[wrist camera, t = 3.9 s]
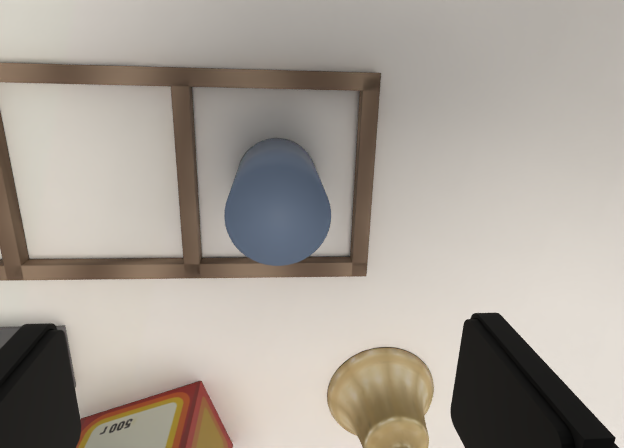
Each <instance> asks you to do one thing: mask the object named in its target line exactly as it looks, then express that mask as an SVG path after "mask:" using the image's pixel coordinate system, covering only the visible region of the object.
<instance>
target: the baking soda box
mask: <svg viewBox="0 0 624 448" xmlns="http://www.w3.org/2000/svg"><path fill="white" fill-rule="evenodd" d="M80 421H81V435H80V439H79V442H78V444H77V446H76V448H233V444H232V442H231V440H230V438H229V436H228V434H227V432H226V430H225V428H224V426H223V424H222V422H221V420H220V418H219V416H218V414H217V412H216V410H215V408H214V406H213V404H212V402H211V399H210V397H209V395H208V393H207V391H206V389H205V387H204V385H203V383H202V381H199V382H195V383H192V384H189V385H186V386H183V387H180V388H176V389H173V390H170V391H167V392H164V393H161V394H158V395H154V396H151V397H148V398H145V399H142V400H139V401H135V402H132V403H129V404H126V405H123V406H120V407H116V408H113V409H110V410H107V411H104V412H101V413H98V414H94V415H91V416H88V417H85V418H82V419H81V420H80Z"/></svg>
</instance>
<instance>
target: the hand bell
mask: <svg viewBox="0 0 624 448" xmlns="http://www.w3.org/2000/svg"><path fill="white" fill-rule="evenodd" d="M433 392H434V385H433V379H432V376H431V373H430V371H429V369H428V368H427V366H426V365H425V364H424V363H423V362H422V361H421V360H420V359H419V358H418V357H416V356H415V355H413V354H411V353H409V352H407V351H404V350H402V349H396V348H376V349H371V350H366V351H363V352H361V353H359V354H357V355H355V356H353V357H351V358H350V359H349V360H347V361H346V362H345V363H344V364H343V365H341V366H340V368H339V369H338V370H337V371H336V373H335V374H334V376H333V377H332V379H331V382H330V385H329V388H328V395H327V399H328V406H329V409H330V412H331V414H332V416H333V417H334V419H335V420H336V421H337V422H338V423H339V424H340V425H341V426H342V427H343V428H344V429H345V430H347V431H348V432H350V433H352V434H354V435H357V436H358V438H359V440H360V442H361V444H362V446H363V448H428V444H429V436H428V432H427V428H426V424H425V418H424V415H425V414H426V413H427V411H428V409H429V407H430V404H431V401H432V397H433Z"/></svg>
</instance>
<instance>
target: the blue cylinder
mask: <svg viewBox="0 0 624 448" xmlns="http://www.w3.org/2000/svg"><path fill="white" fill-rule="evenodd" d="M330 222H331V209H330V204H329V200H328V197H327V195H326V192H325V190H324V188H323V185H322V183H321V180H320V178H319V175H318V173H317V171H316V168H315V166H314V163H313V161H312V159H311V157H310V156H309V154H308V153H307V152H306V151H305V150H304V149H303V148H302V147H301V146H299V145H298V144H296V143H294V142H292V141H289V140H286V139H279V138H275V139H267V140H264V141H261V142H259V143H257V144H255V145H254V146H252V147H251V148H250V149H249V150H248V151H247V152H246V153H245V155H244V156H243V158H242V160H241V162H240V164H239V167H238V170H237V173H236V176H235V179H234V182H233V185H232V187H231V190H230V193H229V196H228V199H227V202H226V206H225V225H226V229H227V232H228V234H229V237H230V239H231V240H232V242H233V243H234V245H235V246H236V247H237V248H238V249H239V250H240V251H241V252H242V253H243V254H244V255H245V256H247V257H248V258H250V259H252V260H254V261H256V262H259V263H262V264H265V265H271V266H284V265H290V264H294V263H297V262H299V261H301V260H304V259H305V258H307V257H309V256H310V255H311V254H312V253H314V252H315V251H316V250H317V249H318V248H319V247H320V245H321V244H322V243H323V241H324V239H325V238H326V236H327V233H328V231H329V227H330Z"/></svg>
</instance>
